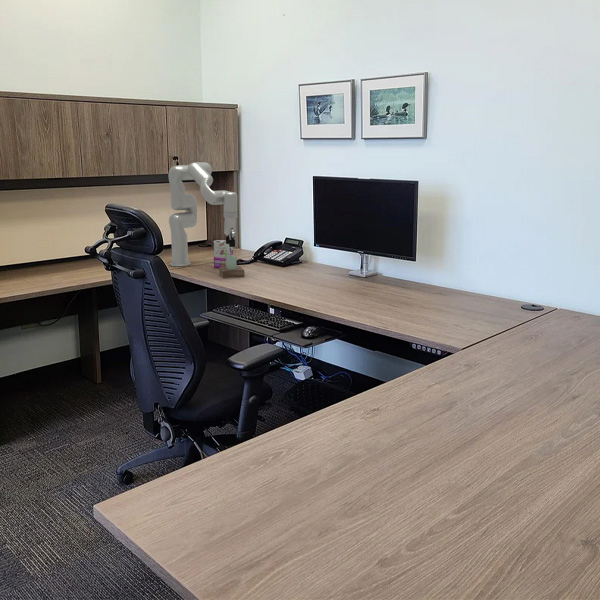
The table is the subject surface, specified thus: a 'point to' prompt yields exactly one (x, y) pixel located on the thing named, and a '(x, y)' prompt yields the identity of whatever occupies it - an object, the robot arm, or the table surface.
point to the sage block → (231, 262)
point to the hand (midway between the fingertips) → (230, 245)
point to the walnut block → (231, 272)
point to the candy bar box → (221, 253)
